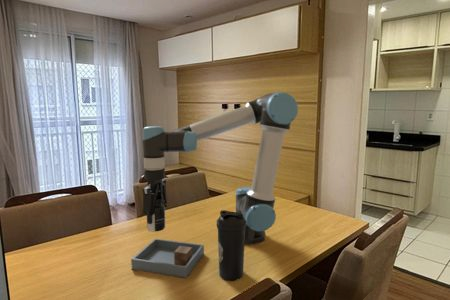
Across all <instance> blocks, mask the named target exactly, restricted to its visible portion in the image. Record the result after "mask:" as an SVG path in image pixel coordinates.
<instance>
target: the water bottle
mask: <svg viewBox="0 0 450 300" xmlns="http://www.w3.org/2000/svg"><path fill="white" fill-rule="evenodd" d="M219 214H220V216H219V217H218V218H217V220H216V228H217V246H218V247H217V248H218V249H217V250H218V272H219V273H218V274H219V277H220V278H221V279H222V280H224V281H227V282H235V281H239V280H241V279H242V278H243V277H242V276H244V263H245V261H244V260H245V258H244V257H245V244H244V242H245V228H246V220H245V219H244V217H243V214H242V212H241V211H240V210H238V211H237V212H236V211H229V210H223V209H222V210H220V211H219ZM240 278H241V279H240ZM238 279H239V280H238Z"/></svg>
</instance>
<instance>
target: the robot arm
mask: <svg viewBox="0 0 450 300" xmlns="http://www.w3.org/2000/svg"><path fill="white" fill-rule="evenodd" d="M298 111H299V107H298V102H297V100H296V99H295V97H293V96H292V95H291V93H287V92H283V91H277V92H271V93H269V92H268V93H266V94H264V95H262V96H260V97H257V98H256V99H254V100H251V101H248V102H246V104H245V105H244V106H242V107H237V108H235V109H232V110H229V111H227V112H223V113H221V114H218V115H215V116H212V117H209V118H206V119H203V120H201V121H198V122H194V123H191V124H189V125H187V126H183V127H178V128H176V129H174V130H173V131H165V129H164V126H159V125H158V126H157V125H155V126H154V125H152V126H151V125H150V126H145V127H143V129H142V153H143V154H142V155H143V168H144V169H143V176H144V177H143V178H144V180H146V181H147V183H146V187H143V188H142V193H143V194H142V195H143V197H142V200H143V201H142V215H143V216H146V229H147V228H148V229H147V232H151V233H156V232H155V214H153V212H154V204H155V197H156V196H158V197H162V204H163V205H164V206H165V208H167V207H168V205H167V203H168V199H167V198H168V197H167V196H168V194H167V180H166V179H165V178H166V169H165V168H164V167H166V164H165V161H166V160H165V153H182V152H183V153H185V152H186V153H188V152H195V151H197V145H198V143H197V142H200V141H203V140H206V139H208V138H211V137H214V136H217V135H220V134H223V133H227V132H229V131H231V130H234V129H238V128H241V127H242V126H243V127H244V126H246V125H250V124H253V125H256V124H259V126H260V128H261V130H262V131H261V136H260V137H261V138H260V142H259V147H258V152H257V157H256V162H255V166H254V167H255V168H254V172H253V177H252V183H251V186H243V187H239V188H238V187H237V189H236V190H235V212H237V211H238V210H240V211H241V212H242V214H243V217H244V219H245V220H246V228H245V242H244V245H252V246H253V245H257V244H261V243H263V242H264V241H266V231H267V230H269V229H270V228H272V227H273V225H274V224H275V221H276V218H277V214H276V210H275V209H274V206H275V202H276V197H275V195H274V194H273V192H274V187H275V183H276V182H275V181H276V178H277V173H278V172H277V171H278V168H279V163H280V157H281V152H282V150H283V149H282V147H283V143H284V137H285V134H287V133H288V132H290V129H291V125H292V122H294V120H295V119H296V118H297V116H298Z"/></svg>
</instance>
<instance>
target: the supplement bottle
mask: <svg viewBox="0 0 450 300" xmlns="http://www.w3.org/2000/svg"><path fill="white" fill-rule="evenodd" d="M153 214H155V232H154V233H157V232H161V231H163V230H164V229H165V228H166V207H165V206H164V205H163V204H162V197H158V196H156V197H155V204H154V212H153ZM146 229H147V230H148V228H147V227H146Z"/></svg>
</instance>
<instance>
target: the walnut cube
mask: <svg viewBox="0 0 450 300" xmlns="http://www.w3.org/2000/svg"><path fill="white" fill-rule="evenodd" d="M191 258H192V247H185V246H179V247H178V248H177V249H176V250H175V251H174V264H175V265H182V266H186V264H187V263H188V262H189V261H190V259H191Z"/></svg>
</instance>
